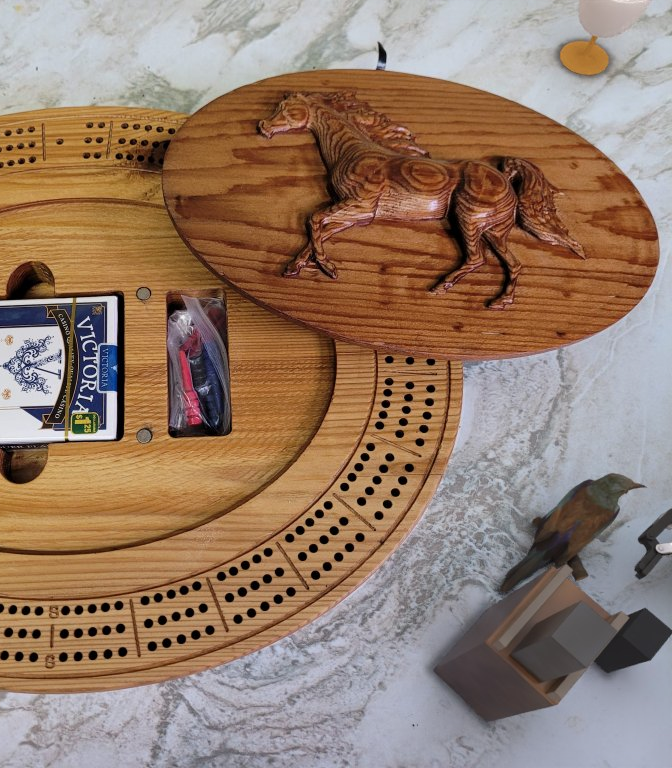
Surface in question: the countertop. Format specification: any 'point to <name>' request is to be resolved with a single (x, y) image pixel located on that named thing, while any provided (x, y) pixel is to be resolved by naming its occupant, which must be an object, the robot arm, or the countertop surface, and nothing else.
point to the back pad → (634, 642)
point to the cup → (600, 32)
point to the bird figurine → (571, 527)
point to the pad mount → (554, 634)
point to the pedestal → (490, 667)
